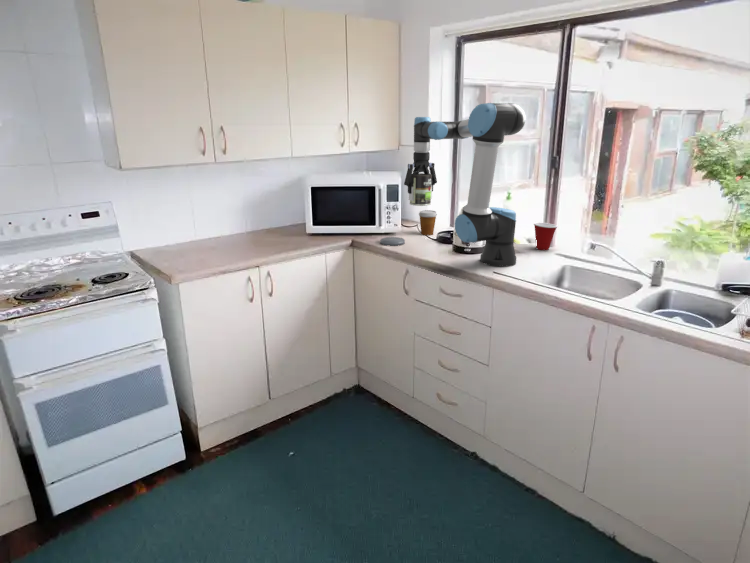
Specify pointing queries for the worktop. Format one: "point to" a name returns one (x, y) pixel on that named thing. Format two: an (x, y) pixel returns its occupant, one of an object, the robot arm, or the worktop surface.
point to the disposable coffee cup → (427, 221)
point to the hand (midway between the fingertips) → (420, 199)
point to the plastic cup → (544, 235)
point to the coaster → (392, 241)
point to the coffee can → (421, 190)
